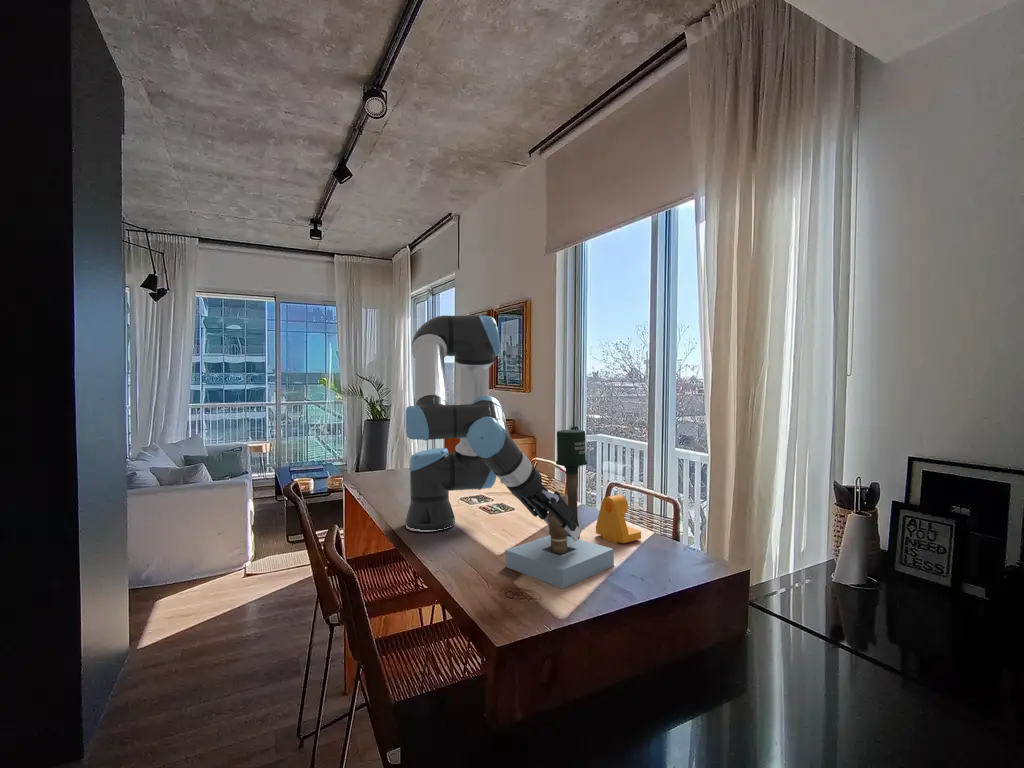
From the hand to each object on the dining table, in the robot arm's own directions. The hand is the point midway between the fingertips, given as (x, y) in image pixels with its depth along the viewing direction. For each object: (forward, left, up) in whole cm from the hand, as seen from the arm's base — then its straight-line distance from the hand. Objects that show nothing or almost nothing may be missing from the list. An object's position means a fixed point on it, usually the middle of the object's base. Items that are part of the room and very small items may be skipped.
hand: (569, 533), depth 119 cm
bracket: (-2, +23, -7) cm, 25 cm away
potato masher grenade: (-10, +13, -7) cm, 18 cm away
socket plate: (0, -4, -7) cm, 8 cm away
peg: (0, -4, -4) cm, 6 cm away
